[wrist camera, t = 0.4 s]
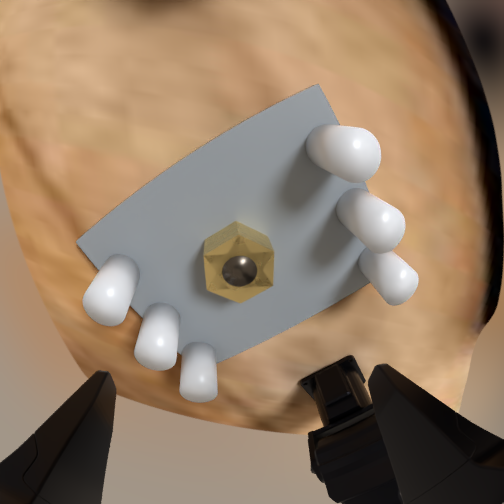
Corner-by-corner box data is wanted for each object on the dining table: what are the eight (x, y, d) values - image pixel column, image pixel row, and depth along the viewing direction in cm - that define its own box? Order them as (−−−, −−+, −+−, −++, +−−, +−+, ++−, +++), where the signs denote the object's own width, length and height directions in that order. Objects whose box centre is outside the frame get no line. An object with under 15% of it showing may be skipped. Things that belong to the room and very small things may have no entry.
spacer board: (388, 261, 23) (421, 295, 19) (199, 363, 26) (199, 408, 21) (313, 85, 16) (347, 76, 12) (80, 236, 19) (49, 271, 14)
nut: (282, 259, 21) (290, 276, 19) (223, 292, 21) (225, 312, 19) (252, 210, 19) (257, 223, 17) (189, 248, 20) (186, 266, 17)
